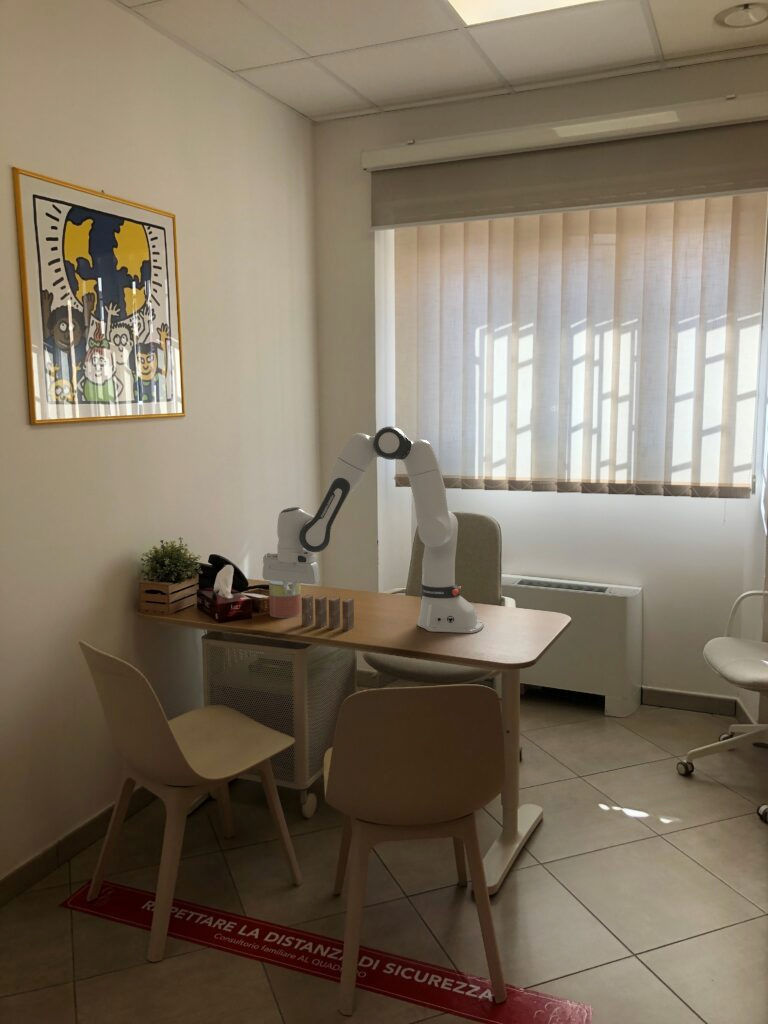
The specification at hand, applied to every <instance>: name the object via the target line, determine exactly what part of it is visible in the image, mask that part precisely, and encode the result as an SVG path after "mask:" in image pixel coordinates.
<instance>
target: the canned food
mask: <svg viewBox="0 0 768 1024" xmlns="http://www.w3.org/2000/svg"><path fill="white" fill-rule="evenodd" d="M268 583H269V584H268V585H269V615H270V617H273V618H280V619H282V618H283V619H287V618H295V617H298V616H300V615H302V595H301V593H302V591H301V589H302V588H301V583H299V585H298V586H297V588H296V589H295V595H286V590H285V588H284V586H283V582H282V581H272V580H268ZM288 586H289V588H290V589H292V588H293V585H292V582H289V584H288Z"/></svg>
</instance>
